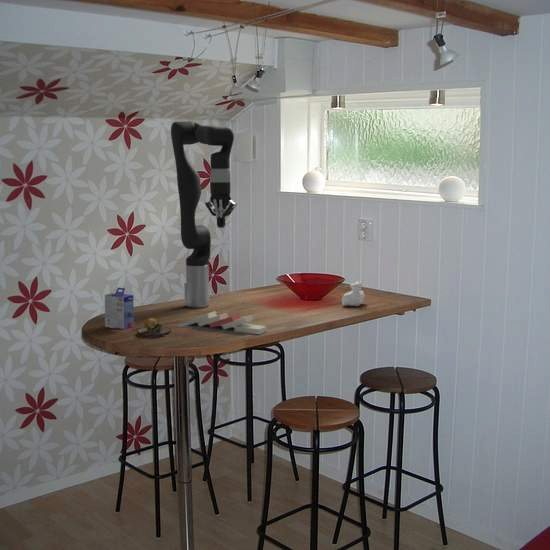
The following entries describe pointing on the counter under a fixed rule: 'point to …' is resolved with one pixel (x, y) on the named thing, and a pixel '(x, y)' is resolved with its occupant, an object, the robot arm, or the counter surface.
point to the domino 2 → (213, 319)
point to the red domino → (225, 321)
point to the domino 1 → (201, 318)
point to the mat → (207, 327)
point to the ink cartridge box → (119, 310)
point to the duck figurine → (354, 295)
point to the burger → (153, 329)
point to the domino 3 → (238, 322)
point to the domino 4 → (250, 328)
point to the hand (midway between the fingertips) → (221, 227)
